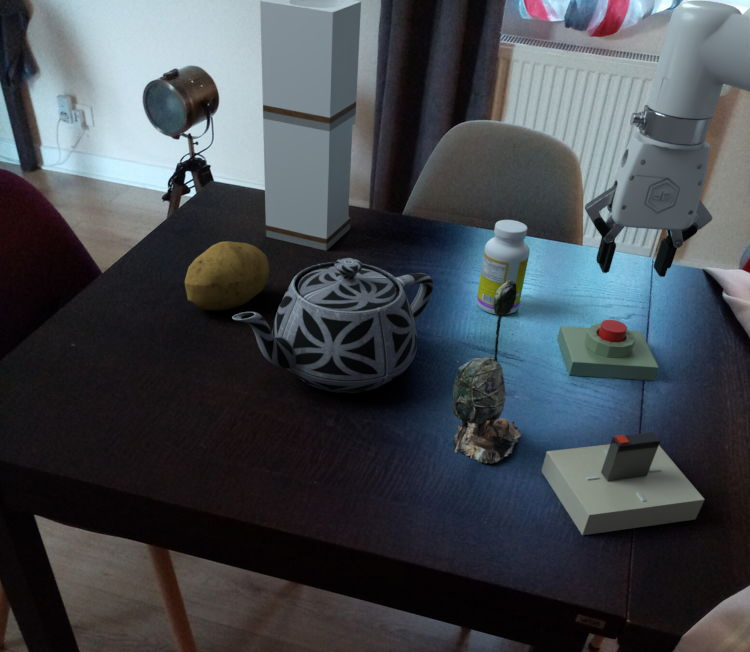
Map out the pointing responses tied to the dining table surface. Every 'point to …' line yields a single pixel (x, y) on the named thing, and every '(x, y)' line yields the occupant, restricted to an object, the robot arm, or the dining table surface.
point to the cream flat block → (619, 491)
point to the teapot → (344, 326)
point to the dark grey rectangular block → (630, 456)
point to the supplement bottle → (503, 263)
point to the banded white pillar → (308, 117)
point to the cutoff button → (612, 331)
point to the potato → (226, 276)
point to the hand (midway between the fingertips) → (631, 269)
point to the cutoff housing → (606, 354)
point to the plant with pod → (485, 398)
